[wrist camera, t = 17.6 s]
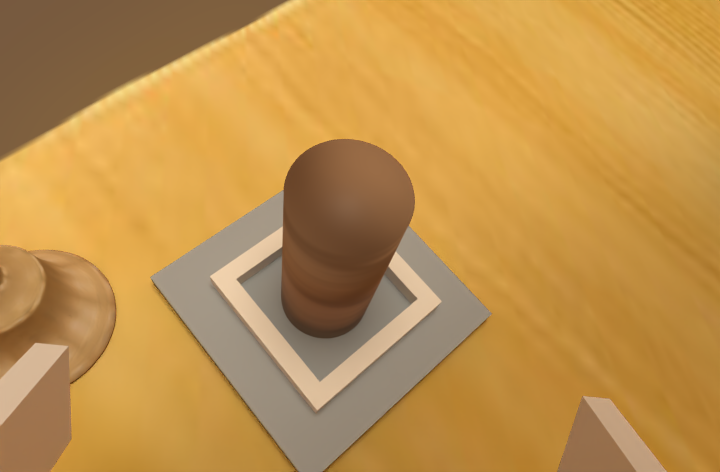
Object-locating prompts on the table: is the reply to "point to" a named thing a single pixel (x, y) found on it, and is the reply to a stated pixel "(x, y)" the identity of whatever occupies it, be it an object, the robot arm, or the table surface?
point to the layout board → (310, 354)
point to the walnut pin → (340, 232)
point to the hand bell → (53, 306)
